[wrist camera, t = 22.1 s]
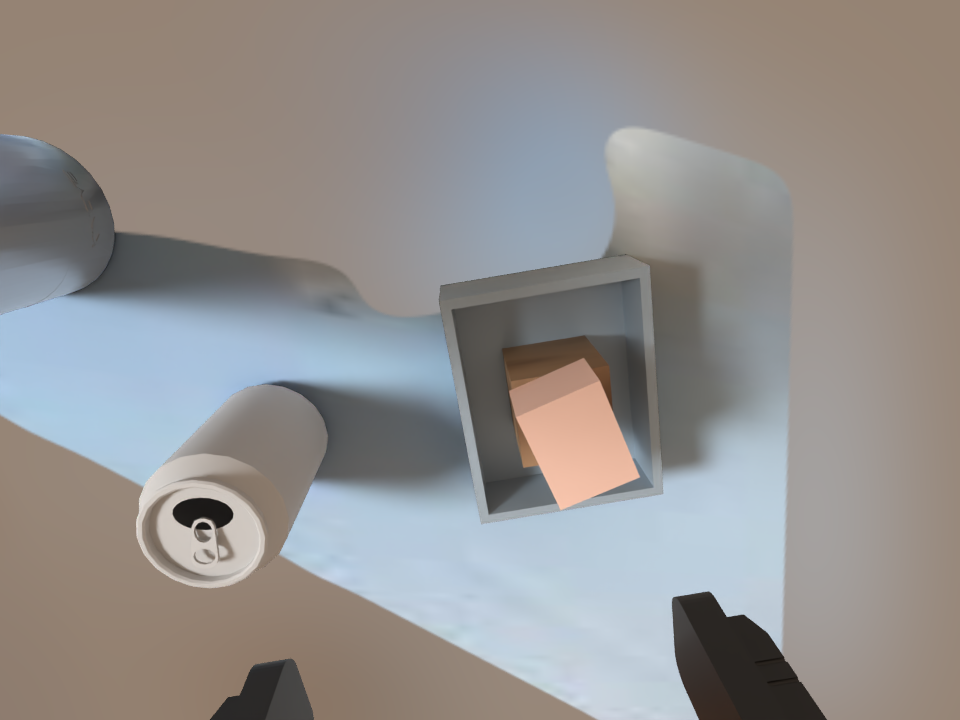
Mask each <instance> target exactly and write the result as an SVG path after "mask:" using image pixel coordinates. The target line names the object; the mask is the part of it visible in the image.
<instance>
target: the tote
mask: <svg viewBox="0 0 960 720" xmlns="http://www.w3.org/2000/svg"><path fill="white" fill-rule="evenodd" d="M439 304H440V310H441V315H442V320H443V325H444V331H445V336H446V341H447V347H448V352H449V357H450V363H451V368H452V373H453V378H454V384H455V389H456V394H457V400H458V405H459V410H460V415H461V421H462V426H463V431H464V437H465V442H466V447H467V452H468V458H469V463H470V468H471V474H472V479H473V484H474V489H475V495H476V500H477V505H478V511H479V516H480V521H481V524H485V523H491V522H497V521H503V520H509V519H515V518H521V517H527V516H533V515H539V514H546V513H552V512H558V511H564V510H570V509H576V508H582V507H588V506H594V505H600V504H606V503H612V502H618V501H624V500H630V499H636V498H642V497H649V496H655V495H661V494H663V478H662V461H661V445H660V428H659V411H658V394H657V378H656V361H655V344H654V327H653V310H652V294H651V277H650V265H647V264H645V263H643V262H641V261H639V260H637V259H635V258H633V257H630V256H628V255H626V254H625V255H620V256H614V257H608V258H602V259H596V260H590V261H584V262H578V263H572V264H566V265H560V266H555V267H548V268H543V269H537V270H531V271H525V272H519V273H513V274H507V275H501V276H495V277H489V278H483V279H477V280H471V281H465V282H459V283H453V284H448V285H442V286H441V288H440V296H439ZM584 335H585V336H586V338H587V339H588V340H589V341H590V342H591V344H592V345H593V346H594V347H595V349H596V350H597V351H598V352H599V354H600V355H601V356H602V357H603V359H604V360H605V361H606V362H607V363H608V365H609V369H610V381H611V394H612V406H613V413H614V416H615V418H616V421H617V423H618V425H619V428H620V430H621V433H622V435H623V437H624V440H625V442H626V445H627V447H628V449H629V452H630V454H631V457H632V459H633V461H634V464H635V466H636V469H637V471H638V473H639V476H640V477H639V478H637V479H635V480H632V481H630V482H627V483H625V484H623V485H620V486H618V487H615V488H613V489H611V490H608V491H606V492H603V493H601V494H599V495H596V496H594V497H591V498H589V499H587V500H584V501H582V502H579V503H577V504H575V505H572V506H570V507H567V508H565V509H563V510H560V508H559V506H558V504H557V502H556V499H555V497H554V495H553V493H552V491H551V489H550V487H549V485H548V483H547V481H546V479H545V477H544V475H543V473H542V471H541V468H540V466H539V465H538V466H532V467H525V468H523V464H522V459H521V455H520V451H519V447H518V443H517V439H516V434H515V430H514V426H513V421H512V414H511V407H510V400H509V394H508V387H507V380H506V373H505V366H504V360H503V353H502V349H503V348H509V347H515V346H521V345H528V344H534V343H540V342H546V341H552V340H559V339H565V338H571V337H577V336H584Z"/></svg>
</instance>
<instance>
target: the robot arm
mask: <svg viewBox="0 0 960 720" xmlns="http://www.w3.org/2000/svg"><path fill="white" fill-rule="evenodd" d="M114 240H115V236H114V222H113V218H112V214H111V210H110V206H109V204H108V202H107V200H106V198H105V196H104V194H103V191H102V189H101V188H100V187H99V185H98V184H97V183H96V181H95V180H94V179H93V177H92V175H91V174H90V173H89V172H88V171H87V170H86V169H85V168H84V167H83V166H82V165H81V164H80V163H79V162H78V161H77V160H75V159H74V158H73V157H71V156H70V155H68V154H67V153H65V152H64V151H62V150H61V149H59V148H57V147H55V146H53V145H50V144H48V143H46V142H44V141H41V140H37V139H33V138H29V137H25V136H16V135H4V134H0V315H2V314H5V313H8V312H11V311H14V310H18V309H21V308H25V307H28V306H31V305H34V304H38V303H41V302H44V301H47V300H50V299H54V298H57V297H60V296H63V295H66V294H69V293H72V292H75V291H77V290H80V289H82V288H85V287H86V286H88V285H89V284H90V283H92V282H93V281H95V280H96V279H97V278H98V277H99V276H100V274H101V273H102V272H103V271H104V269H105V268H106V266H107V264H108V262H109V260H110V257H111V255H112V251H113V246H114ZM672 612H673V629H674V646H675V657H676V662H677V666H678V670H679V673H680V676H681V679H682V682H683V685H684V687H685V689H686V692H687V694H688V696H689V698H690V700H691V703H692V705H693V707H694V709H695V712H696V714H697V716H698V718H699V720H827V719H826V718H825V716H824V715H823V713H822V712H821V710H820V709H819V707H818V706H817V705H816V703H815V702H814V700H813V699H812V697H811V696H810V694H809V693H808V691H807V690H806V688H805V687H804V686H803V684H802V683H801V682H799V680H798V677H797V675H796V674H795V673H794V671H793V669H792V668H791V667H790V665H789V664H788V662H786V661H785V659H784V656H783V655H782V653H781V652H780V650H779V649H778V648H777V646H776V645H775V643H774V642H773V640H772V639H771V637H770V636H769V634H768V633H767V632H765V631H764V630H763V629H762V628H760V627H759V626H758V625H756V624H755V623H754V622H753V621H751V620H750V619H749V618H747V617H746V616H745V615H738V616H732V617H726V615H725V613H724V612H723V610H722V609H721V607H720V605H719V604H718V602H717V600H716V599H715V597H714V596H713V595H712V594H711V593H710V592H702V593H696V594H690V595H684V596H678V597H673V599H672ZM210 720H314V717H313V711H312V708H311V705H310V702H309V700H308V697H307V694H306V691H305V688H304V685H303V682H302V680H301V677H300V674H299V671H298V668H297V665H296V663H295V661H294V660H293V659H285V660H279V661H273V662H267V663H261V664H256V665H254V666H253V667H252V669H251V670H250V672H249V674H248V677H247V679H246V682H245V684H244V687H243V689H242V691H241V694H240V695H239V696H233V697H228V698H227V699H226V700H225V702H224V703H223V704H222V705H221V707H220V708H219V709H218V710H217V712H216V713H215V714H214V715H213V716H212V718H211V719H210Z"/></svg>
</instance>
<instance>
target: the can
mask: <svg viewBox="0 0 960 720" xmlns="http://www.w3.org/2000/svg"><path fill="white" fill-rule="evenodd" d="M327 441H328V434H327V430H326V426H325V422H324V419H323V418H322V416H321V415H320V413H319V412H318V410H317V409H316V407H315V406H314V405H313V404H312V403H311V402H310V401H308V400H307V399H306V398H305V397H304V396H302V395H301V394H299V393H297V392H295V391H292V390H290V389H288V388H286V387H282V386H275V385H268V384H264V385H257V386H250V387H247V388H245V389H243V390H241V391H239V392H237V393H235V394H233V395H232V396H231V397H230V398H229V399H228V400H227V401H226V402H225V403H224V404H223V405H222V406H221V407H220V408H219V409H218V410H217V411H216V412H215V413H214V414H213V415H212V416H211V417H210V418H209V419H208V420H207V421H206V422H205V423H204V424H203V425H202V426H201V427H200V428H199V429H198V430H197V431H196V432H195V433H194V434H193V435H192V436H191V437H190V438H189V439H188V440H187V441H186V442H185V443H184V444H183V445H182V446H181V447H180V448H179V449H178V450H177V451H176V452H175V453H174V454H173V455H172V456H171V457H170V458H169V459H168V460H167V461H166V462H165V463H164V464H163V465H162V466H161V467H160V468H159V469H158V470H157V471H156V472H155V473H154V474H153V475H152V476H151V477H150V478H149V479H148V480H147V481H146V483H145V486H144V489H143V491H142V494H141V496H140V499H139V515H138V517H137V520H136V524H137V539H138V541H139V544H140V546H141V549H142V551H143V554H144V555H145V556H146V557H147V558H148V559H149V561H150V562H151V563H152V564H153V565H154V567H155V568H156V569H158V570H159V571H161V572H162V573H164V574H165V575H167V576H168V577H170V578H171V579H173V580H176V581H178V582H181V583H184V584H187V585H190V586H195V587H204V588H216V587H224V586H231V585H233V584H235V583H237V582H239V581H241V580H244V579H245V578H248V577H249V576H250V575H251V574H252V573H253V572H255V571H257V570H259V569H261V568H263V567H265V566H266V565H267V564H268V563H270V561H272V560H273V559H274V558H275V557H276V556H277V555H278V554H279V553H280V551H281V549H282V547H283V545H284V543H285V541H286V539H287V537H288V534H289V532H290V530H291V528H292V526H293V524H294V521H295V519H296V517H297V515H298V513H299V510H300V508H301V506H302V504H303V502H304V499H305V497H306V495H307V493H308V491H309V488H310V486H311V484H312V482H313V480H314V477H315V475H316V473H317V471H318V469H319V467H320V464H321V462H322V460H323V458H324V456H325V453H326V451H327Z"/></svg>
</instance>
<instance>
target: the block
mask: <svg viewBox="0 0 960 720" xmlns="http://www.w3.org/2000/svg"><path fill="white" fill-rule="evenodd" d="M502 353H503V360H504V366H505V373H506V380H507V387H508V394H509V400H510V407H511V414H512V421H513V426H514V430H515V434H516V439H517V443H518V447H519V451H520V455H521V459H522V464H523V468H525V467H532V466H538V465H539V464H538V462H537V460H536V458H535V456H534V454H533V452H532V450H531V448H530V446H529V444H528V442H527V440H526V437H525V435H524V433H523V431H522V429H521V427H520V425H519V423H518V421H517V419H516V416H515V412H514V409H513V405H512V401H511V397H510V393H509V391H510V390H512V389H515V388H517V387H519V386H521V385H524V384H526V383H528V382H530V381H533V380H535V379H537V378H539V377H542V376H544V375H546V374H548V373H551V372H553V371H555V370H557V369H560V368H562V367H564V366H566V365H569V364H571V363H573V362H575V361H578V360H580V359H582V358H584V359H585V360H586V362H587V363H588V365H589V366H590V367H591V369H592V370H593V372H594V373H595V374H596V376H597V377H598V379H599V380H600V382H601V385H602V387H603V389H604V392H605V394H606V397H607V399H608V401H609V404H610V406H611V409H612V411H613V406H612V394H611V381H610V369H609V365H608V363H607V362H606V361H605V360H604V359H603V357H602V356H601V355H600V354H599V352H598V351H597V350H596V349H595V347H594V346H593V345H592V344H591V342H590V341H589V340H588V339H587V338H586V336H585V335H584V336H577V337H571V338H565V339H559V340H552V341H546V342H540V343H534V344H528V345H521V346H515V347H509V348H503V349H502Z"/></svg>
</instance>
